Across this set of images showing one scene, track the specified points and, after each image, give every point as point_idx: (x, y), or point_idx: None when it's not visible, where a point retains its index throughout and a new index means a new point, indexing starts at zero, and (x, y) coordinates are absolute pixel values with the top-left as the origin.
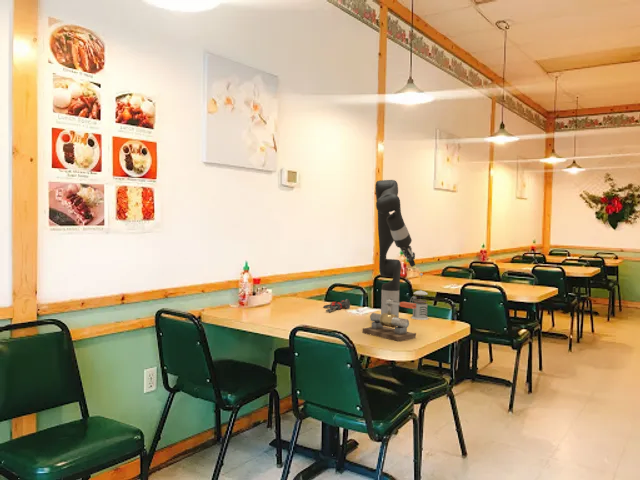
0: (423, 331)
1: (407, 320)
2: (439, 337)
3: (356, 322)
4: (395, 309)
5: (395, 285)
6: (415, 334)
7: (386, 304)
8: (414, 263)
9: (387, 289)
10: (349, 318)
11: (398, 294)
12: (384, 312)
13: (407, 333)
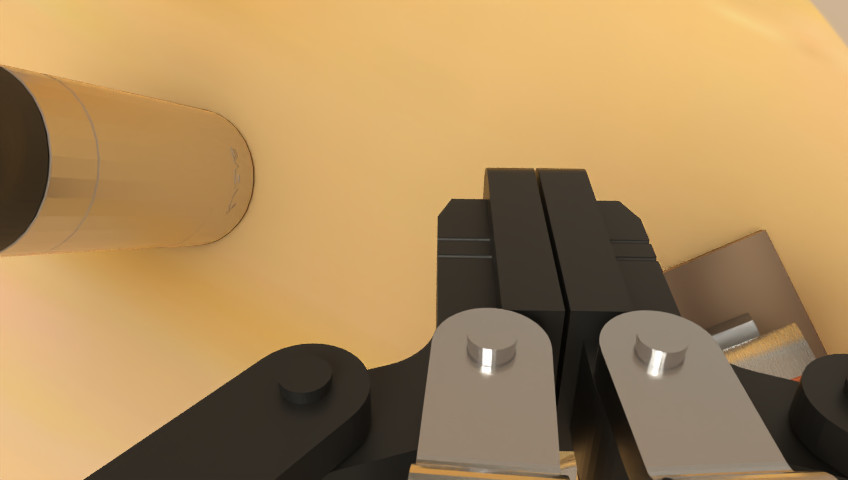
0: (533, 44)
1: (811, 352)
2: (786, 8)
3: (155, 423)
4: (181, 151)
5: (6, 145)
6: (766, 234)
7: (131, 231)
8: (646, 234)
9: (16, 229)
10: (30, 406)
11: (65, 99)
12: (168, 239)
13: (746, 304)
